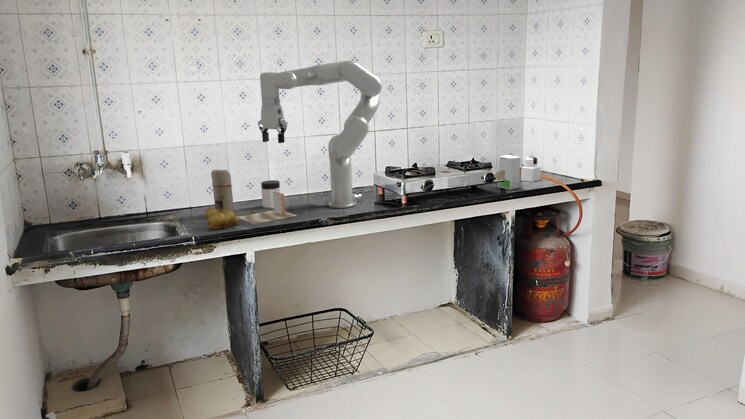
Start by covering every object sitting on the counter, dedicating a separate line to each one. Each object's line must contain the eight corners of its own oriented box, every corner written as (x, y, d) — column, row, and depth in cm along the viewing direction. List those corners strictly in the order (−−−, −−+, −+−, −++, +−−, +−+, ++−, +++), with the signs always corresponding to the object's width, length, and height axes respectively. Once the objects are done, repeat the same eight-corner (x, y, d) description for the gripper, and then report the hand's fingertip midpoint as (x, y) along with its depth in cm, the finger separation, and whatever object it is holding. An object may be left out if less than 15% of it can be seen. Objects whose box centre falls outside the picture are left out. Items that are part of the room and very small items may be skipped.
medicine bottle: (529, 178, 325) (529, 155, 322) (540, 180, 320) (541, 157, 317) (520, 180, 321) (521, 157, 318) (532, 182, 315) (532, 158, 313)
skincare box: (498, 187, 305) (498, 156, 302) (507, 185, 309) (507, 154, 305) (511, 189, 299) (511, 157, 295) (520, 187, 302) (520, 156, 299)
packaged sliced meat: (279, 211, 270) (279, 209, 270) (297, 218, 258) (297, 215, 257) (237, 219, 259) (236, 216, 259) (253, 226, 246) (253, 224, 246)
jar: (266, 211, 272) (264, 184, 270) (259, 208, 279) (257, 182, 276) (285, 208, 277) (283, 181, 274) (277, 205, 284) (275, 179, 281)
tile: (277, 212, 265) (276, 191, 263) (285, 215, 259) (284, 194, 257) (274, 212, 264) (272, 192, 262) (282, 215, 258) (280, 194, 256)
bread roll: (237, 222, 255) (235, 203, 254) (242, 227, 247) (240, 208, 245) (205, 226, 251) (203, 207, 249) (209, 231, 242) (207, 212, 240)
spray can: (211, 214, 270) (207, 169, 265) (228, 211, 275) (224, 166, 270) (220, 217, 264) (216, 171, 259) (237, 214, 269) (233, 168, 264)
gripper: (291, 101, 260) (294, 142, 264) (263, 101, 270) (266, 140, 274) (278, 102, 254) (281, 144, 258) (250, 102, 265) (253, 142, 268)
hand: (273, 142), depth 266 cm, fingers open, 9 cm apart
